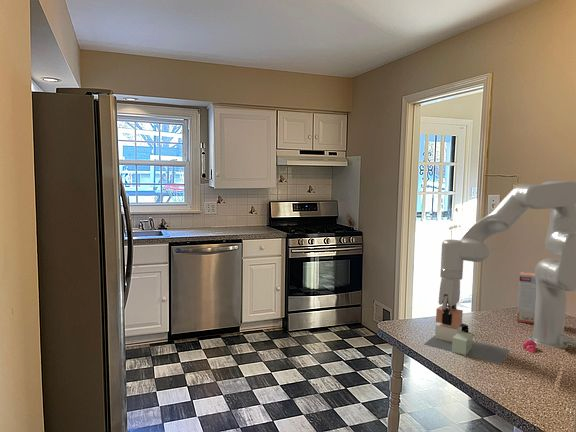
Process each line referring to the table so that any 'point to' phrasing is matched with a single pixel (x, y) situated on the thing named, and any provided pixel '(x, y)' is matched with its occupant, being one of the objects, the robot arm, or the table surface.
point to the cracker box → (526, 298)
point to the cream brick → (446, 331)
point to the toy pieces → (530, 346)
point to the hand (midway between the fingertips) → (448, 321)
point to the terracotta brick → (455, 316)
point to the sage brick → (462, 343)
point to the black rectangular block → (464, 327)
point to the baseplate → (474, 350)
